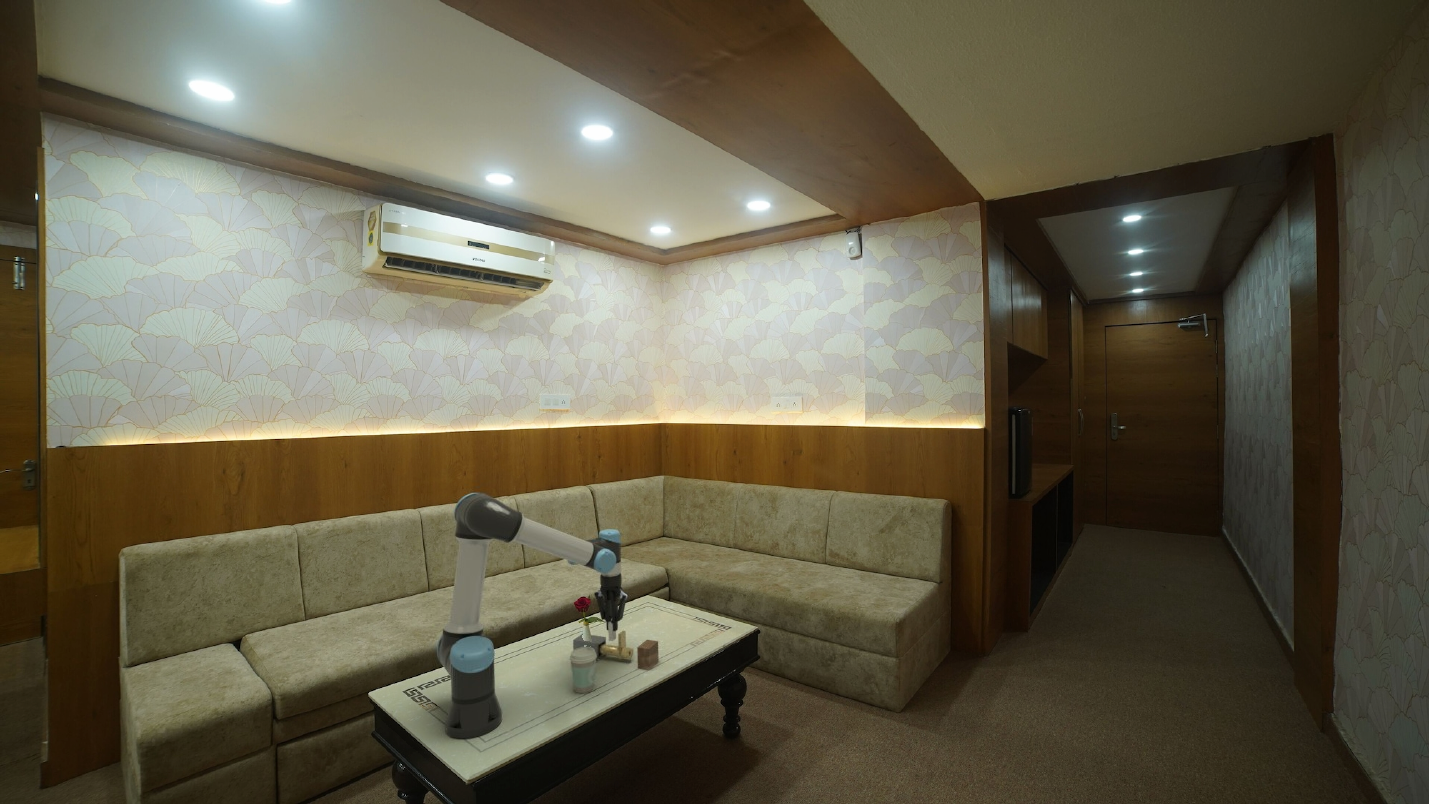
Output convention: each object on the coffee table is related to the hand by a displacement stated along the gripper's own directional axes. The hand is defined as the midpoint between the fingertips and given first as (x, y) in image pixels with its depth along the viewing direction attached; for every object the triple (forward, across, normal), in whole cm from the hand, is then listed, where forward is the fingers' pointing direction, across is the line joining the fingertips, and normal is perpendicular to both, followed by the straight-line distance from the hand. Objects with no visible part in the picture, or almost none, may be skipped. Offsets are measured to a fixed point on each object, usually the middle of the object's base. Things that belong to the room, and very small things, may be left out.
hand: (612, 639), depth 214 cm
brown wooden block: (+7, +14, 0) cm, 16 cm away
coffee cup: (+7, +2, -22) cm, 23 cm away
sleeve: (+7, -10, 0) cm, 12 cm away
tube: (+6, -4, 0) cm, 7 cm away
